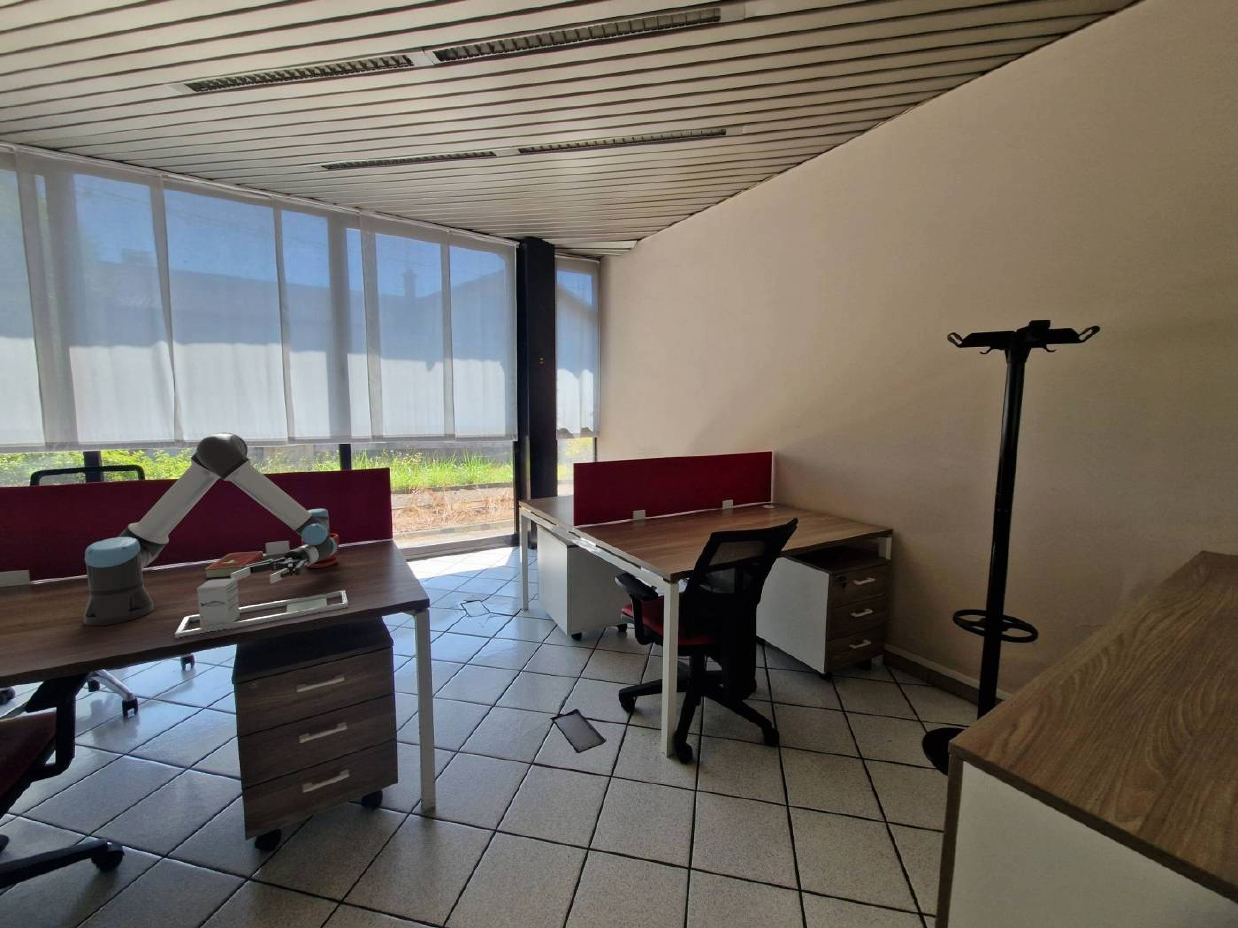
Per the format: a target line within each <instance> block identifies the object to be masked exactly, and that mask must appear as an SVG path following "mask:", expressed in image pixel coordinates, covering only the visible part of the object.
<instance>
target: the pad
mask: <svg viewBox="0 0 1238 928" xmlns="http://www.w3.org/2000/svg"><path fill="white" fill-rule="evenodd" d="M327 601H328V600H327V599H326V598H323V599H317V600H311V601H305V602H299V603H294V604H288V605H286V612H285V613H288V612H293V611H299V610H305V609H310V608H316V607H322V606H327V605H328V603H327Z"/></svg>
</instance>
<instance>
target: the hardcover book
mask: <svg viewBox="0 0 1238 928" xmlns="http://www.w3.org/2000/svg"><path fill="white" fill-rule="evenodd" d="M262 559H263V560H264V553H263V551H262V550H261V551H248V552H245V551H244V552H233V553H232V552H231V553H230V552H229V553H227V554H226V555H225V556H223V557H222V558H220V559H218V560H217V561H216V562H213V563H212V564H210V565H209V566H207V567H206V568H204V569H203V570H204V571H205V573H206V574H205V575H206V579H208V578H220V577H221V578H222V577H231V573H234V572H236V571H239V570H242V569H243V566H244V565H249V564H253V563H257V562H262V561H263V560H262Z"/></svg>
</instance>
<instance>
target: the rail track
mask: <svg viewBox="0 0 1238 928" xmlns="http://www.w3.org/2000/svg"><path fill="white" fill-rule="evenodd" d="M338 597H341V600H342V601H341V603H340V602H339V603H334V604H327V606H322V607H316V608H310V609H305V610H299V611H293V612H288V613H286V612H283V613H277V614H272V615H266V616H262V617H261V616H260V617H255V618H249V619H245V620H236V621H234V622H231V623H226V624H220V625H214V626H209V627H203V628H200V627H197V628H193V629H192V628H191V629H187V628H188V626H189V624H190V621H192V622H197V620H198V621H200V617H199V613H198V614H192V615H188V616H184V618H183V619H182V621H181V622H180V625H179V626H178V628H177V630H176V632H175V633H174V637H175V638H177V639H180V638H179V637H183V636H185V635H192V634H198V633H204V632H210V631H216V632H218V631H217V630H221V631H224V630H223V629H227V630H231V628H232V629H237V627H238V628H242V627H247V626H253V625H259V624H263V623H271V622H275V620H276V621H281V620H286V619H292V618H297V617H303V616H308V614H309V615H313V613H314V614H319V613H318V612H320V613H324V612H330V611H336V610H340V609H341V610H342V609H347V608H348V605H349V603H348V598H347V594H346V590H345V589H343V590H339V591H333V592H331V591H330V592H326V593H321V594H315V595H309V596H308V595H307V596H302V597H296V598H291V599H284V600H279V601H270V602H265V603H260V604H253V605H247V606H243V607H239V614H242V613H243V614H245V613H250V612H254V611H261V610H267V609H274V608H278V607H285V606H286V607H287V605H288V604H294V603H299V602H305V601H311V600H317V599H323V598H326V600H327V599H331V598H338ZM346 607H347V608H346ZM280 619H281V620H280ZM186 627H187V628H186ZM185 629H186V630H185ZM210 633H211V632H210ZM183 638H184V637H183Z"/></svg>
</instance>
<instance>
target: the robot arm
mask: <svg viewBox="0 0 1238 928" xmlns="http://www.w3.org/2000/svg"><path fill="white" fill-rule="evenodd" d="M248 448H249V447H248V445H247V442H246V441H245V440H244V438H242V437H241V436H239V435H238V434H235V433H231V432H218V433H215V434H210V435H208V436H206V437H204V438H203V439H202V440H200V441H199V442H198V445H197V446H196V449H195V450H196V452H195V453H193V455H192V456H191V457H190V462H191V465H190V466H188V468H187V469H186V470H185V471H184V473H183V474H182V475H181V476H180V477H179V478H178V479H177V480H176V481H175V482H174V484H172V486H171V487H170V488H169V489H168V490H167V491H166V492H165V493H164V494H163V495H162V496H161V498H159V500H158V501H157V502H156V503H155V504H154V505H153V506H152V507H150V508H151V509H149V510H148V511H147V513H146V514H145V515H144V516H143V517H142V518H141V519H140V521H138V522H133V523H129V524H128V525H127V526H126V527H125V529H124V530H123V531H122V532H121V533H120V534H119V535H118V536H117V537H111V538H106V539H103V540H100V541H96V542H93V543H92V544H90V545H88V546H87V547H86V549H85V550H84V551H85V552H84V555H85V556H84V563H85V566H86V577H87V585H88V591H89V598H88V601H87V604H86V608H85V611H84V614H83V623H84V625H87V626H93V627H97V626H98V627H99V626H100V627H101V626H108V625H116V624H120V623H125V622H128V621H132V620H136V619H139V618H141V617H144V616H146V615H148V614H150V613H151V612H153V611H154V602H153V599H152V598H151V597H150V595H149V593H148V592H147V589H146V588H145V586H144V577H143V569H144V568H145V567H147V566H148V565H149V564H150V563H153V562H154V561H155V560H156V559H157V558H158V556H159V554H161V551H162V550H163V549H164V548H165V546H166V545H167V544H169V541H170V539H169V534H170V533H171V532H172V531H173V530H174V529H175V528H176V527H177V525H178V524H179V523H180V522H181V521H182V520H183V518H184V517H186V516H187V514H188V513H189V512H190V511H191V510H192V509H193V508H194V507H195V506H196V504H197V503H198V502H199V501H200V500H201V499H202V498H203V497H204V495H205V494H207V492H208V491H209V490H210V489H211V487H212V486H213V485H214V484H215V483H216V481H218V480H219V479H222V480H223V481H224V482H225V481H227V482H228V481H229V482H232V483H233V484H234V485H236V487H238V489H240V490H241V491H243V492H244V493H245V494H247V495H248V496H249V497H251V498H252V499H253V500H254V501H256V502H257V503H258V504H260V506H262V507H264V508H265V509H266V510H268V511H269V512H270V513H271V514H272V515H274V516H275V517H276V518H278V519H279V520H280V521H282V522H283V524H285V525H287V526H288V527H289V528H290V529H292V530H293V531H294V532H296V534H298V535H299V536H300V537H301V539H303V541H304V542H305V543H307V545H304V546H302V545H301V546H298V547H297V548H294V549H292V550H289V551H287V552H286V553H285V554H284V556H283V557H280V558H278V559H275V558H270V559H266V560H261V561H260V562H257V563H253V564H249V565H244V566H243V569H242V570H239V571H236V572H234V573H231V576H230V579H234V578H237V581H239V580H242V579H244V578H246V577H250V576H251V574H256V573H257V574H258V573H261V572H268V571H273V572H274V573H272V574H269V583H270V584H274V583H276V582H278V581H282V580H283V579H285V578H287V577H292V576H294V575H295V576H299V575H301V574H302V572H303V571H304V570H305V569H306V568H310V567H309V565H311V564H313V563H315V562H318V561H320V560H322V559H325V558H328V557H329V556H331V555H332V554H334V553H335V552H336V550H337V543H336V542H335V540H334V539H333V538H331V537H330V534H331V533H330V519H329V518H330V517H329V512H328V509H326V508H314V509H309V510H307V509H306V508H305V507H304V506H302V505H301V504H299V502H297V501H296V500H295V499H294V498H293V497H291V496H290V495H289V494H288V493H286V492H285V491H283V490H282V489H281V488H280V487H279V486H278V485H276V484H275V483H274V482H273V481H272V480H271V479H269V478H268V477H266V475H264V474H263V473H261V471H259V470H258V469H257V468H255V467H254V466H253V465H252V464H251V462H252V461H251V459H250V458H248V452H249V449H248ZM275 571H276V572H275Z"/></svg>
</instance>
